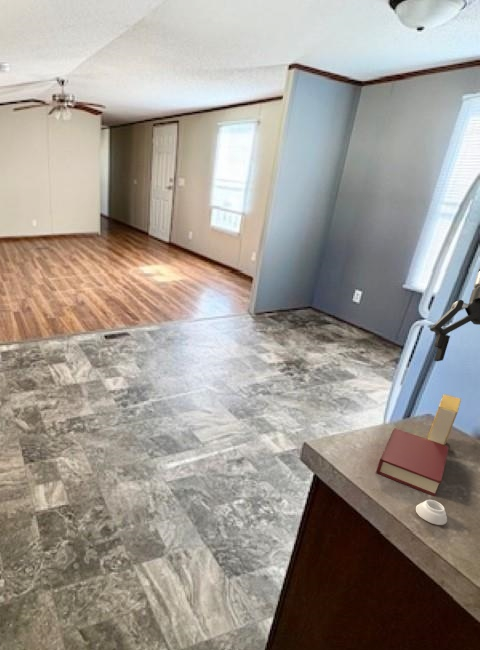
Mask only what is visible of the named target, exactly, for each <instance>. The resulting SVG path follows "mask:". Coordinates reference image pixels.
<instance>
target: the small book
mask: <svg viewBox="0 0 480 650" xmlns="http://www.w3.org/2000/svg"><path fill="white" fill-rule="evenodd" d="M461 403H462V398H459V397H456V396H453V395H448V394H445V393H443V394H442V397H441V400H440V403H439V405H438V408H437V410H436V414H435V416H434V418H433V421H432V424H431V426H430V430H429V432H428V435H427V438H426V439H428V440H431V441H434V442H437V443H440V444H443V445H446V443H447V441H448V438H449V436H450V433H451V431H452V428H453V425H454V423H455V420H456V417H457V415H458V413H459V409H460V405H461Z"/></svg>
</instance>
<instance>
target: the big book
mask: <svg viewBox="0 0 480 650" xmlns="http://www.w3.org/2000/svg"><path fill="white" fill-rule="evenodd" d="M391 431H392V432H391V433H390V435H389V437H388V440H387V443H386V445H385V447H384V449H383V451H382V454H381V456H380V459H379V461H378V464H377V468H376V471H375V474H378V475H380V476H383V477H385V478H387V479H390V480H393V481H395V482H398V483H400V484H403V485H405V486H408V487H410V488H413V489H415V490H417V491H421V492H422V493H426V494H427V495H431V496H432V497H436V496H437V492H438V488H439V484H442V480H443V476H444V471H445V466H446V462H447V458H448V453H449V448H450V446H449V445H446V444H445V445H443V444H440V443H437V442H434V441H431V440H428V439H427V438H426V437H422V436H420V435H416V434H413V433H410V432H407V431H405V430H402V429H399V428H395V427H393V429H392V430H391Z"/></svg>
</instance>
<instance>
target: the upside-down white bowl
mask: <svg viewBox="0 0 480 650" xmlns="http://www.w3.org/2000/svg"><path fill="white" fill-rule="evenodd" d="M415 512H416V514H417V515H418V516H419V517H420V518H421V519H423V520H424V521H426V522H428V523H429V524H432V525H436V526H443V525H446V524H447V522H448V517H447V512H446V509H445V506H444V505H443V504H441V503H440V502H439V501H437V500H434V499H426V500H425V501H422V502H420V503H419V504H417V505H416V507H415Z"/></svg>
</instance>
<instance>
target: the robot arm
mask: <svg viewBox="0 0 480 650" xmlns="http://www.w3.org/2000/svg"><path fill="white" fill-rule="evenodd" d="M463 310H465V313H466V314H467V315H465V316H464V317H462V318H460V319H459V320H457V321H456V322H453V323H451V324H450V325H448V326H446V327H444V326H445V325H446V324H447V323H449V321H450V320H451V319H453V317H455V316H456V315H457V314H458V313H459V312H461V311H463ZM470 322H471V323H472V325H476V326H477V325H478V326H480V266H479V267H478V271H477V273H476V277H475V280H474V284H473V289H472V291H471V294H470V297H469V300H468V303H466V302H465V301H464V300H462V299H458V300H456V301H454V302H453V303H452V305H451V306H450V309H449V310H448V311H447V312H445V313H444V315H442V316H441V317H440V318H439V319H438V320H437V321H436V322H435V323H434V324H432V326H431V327H430V328H429V331H430V332H433V333H435V337H436V338H435V341H434V344H433V345H434V347H435V348H437V349H436V352H435V356H434V359H433V361H434V362H441V361H444V358H445V356H446V351H447V348H448V345H449V341H450V338H451V336H450V335H448V334H449V333H451V332H453V331H455V330H457V329H459V328H460V327H463V326H465V325H466V324H468V323H470ZM442 327H444V328H442Z"/></svg>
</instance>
